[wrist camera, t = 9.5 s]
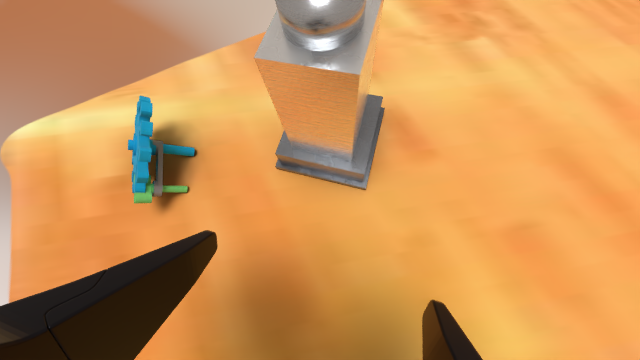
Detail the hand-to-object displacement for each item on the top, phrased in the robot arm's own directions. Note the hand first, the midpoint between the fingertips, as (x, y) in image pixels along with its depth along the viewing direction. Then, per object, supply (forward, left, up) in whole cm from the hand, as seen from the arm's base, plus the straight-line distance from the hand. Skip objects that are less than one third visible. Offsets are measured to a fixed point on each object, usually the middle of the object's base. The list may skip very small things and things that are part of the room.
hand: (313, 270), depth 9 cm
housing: (+14, +1, -11) cm, 17 cm away
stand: (+14, +1, -14) cm, 19 cm away
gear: (+9, +20, -14) cm, 26 cm away
